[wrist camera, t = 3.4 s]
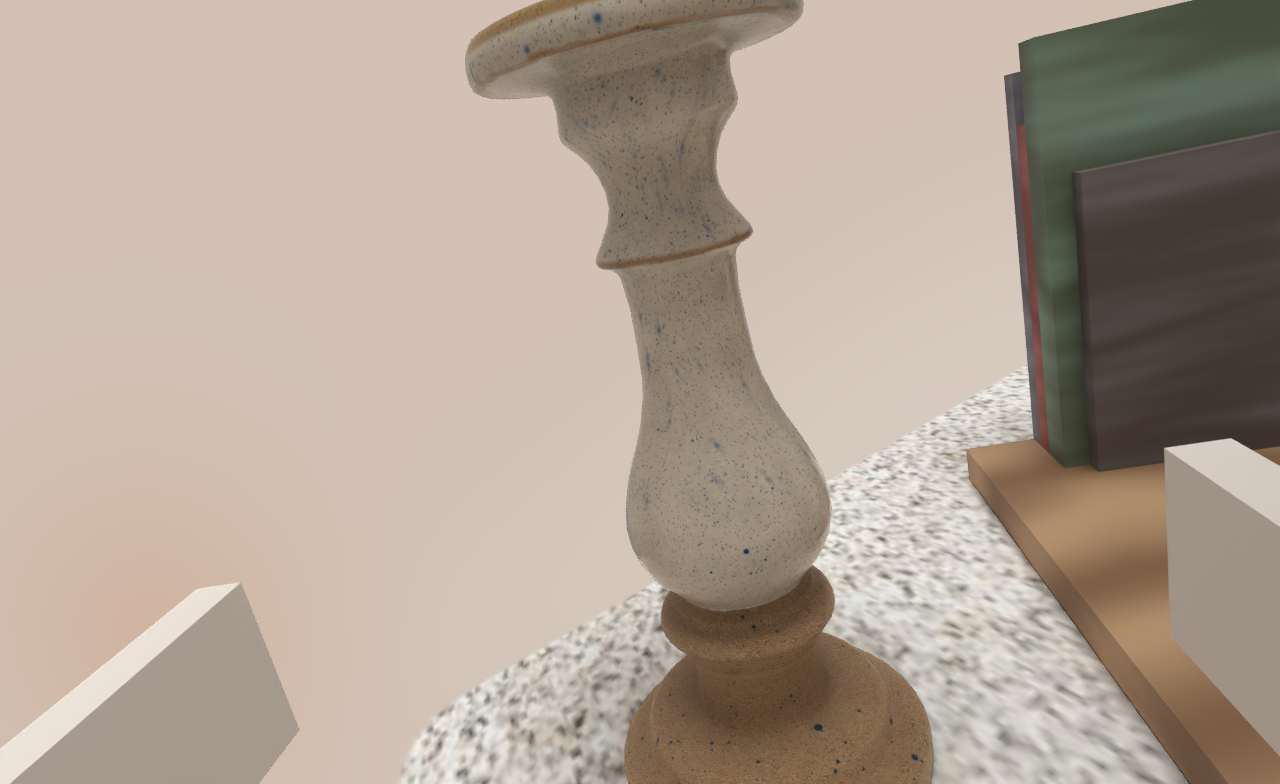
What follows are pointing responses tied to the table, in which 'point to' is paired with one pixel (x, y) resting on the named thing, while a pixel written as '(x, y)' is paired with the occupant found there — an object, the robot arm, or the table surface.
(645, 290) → the candle holder
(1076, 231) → the wooden bookend
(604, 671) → the table surface
